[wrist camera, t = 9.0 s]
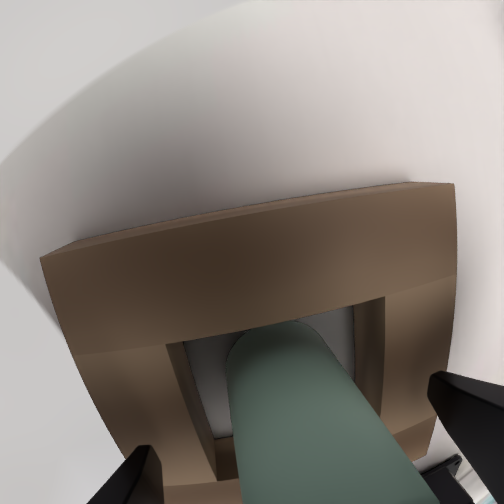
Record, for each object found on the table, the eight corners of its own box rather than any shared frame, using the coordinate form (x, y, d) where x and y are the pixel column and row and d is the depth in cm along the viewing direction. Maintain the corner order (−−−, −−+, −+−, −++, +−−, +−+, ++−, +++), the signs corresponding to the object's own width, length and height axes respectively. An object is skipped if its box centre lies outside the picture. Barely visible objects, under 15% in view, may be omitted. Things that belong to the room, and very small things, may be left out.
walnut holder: (403, 426, 14) (426, 455, 11) (170, 482, 12) (168, 519, 10) (411, 181, 11) (454, 183, 8) (73, 242, 10) (39, 258, 7)
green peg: (329, 392, 12) (417, 542, 4) (236, 414, 12) (268, 590, 4) (324, 309, 11) (461, 465, 4) (215, 332, 11) (235, 544, 3)
